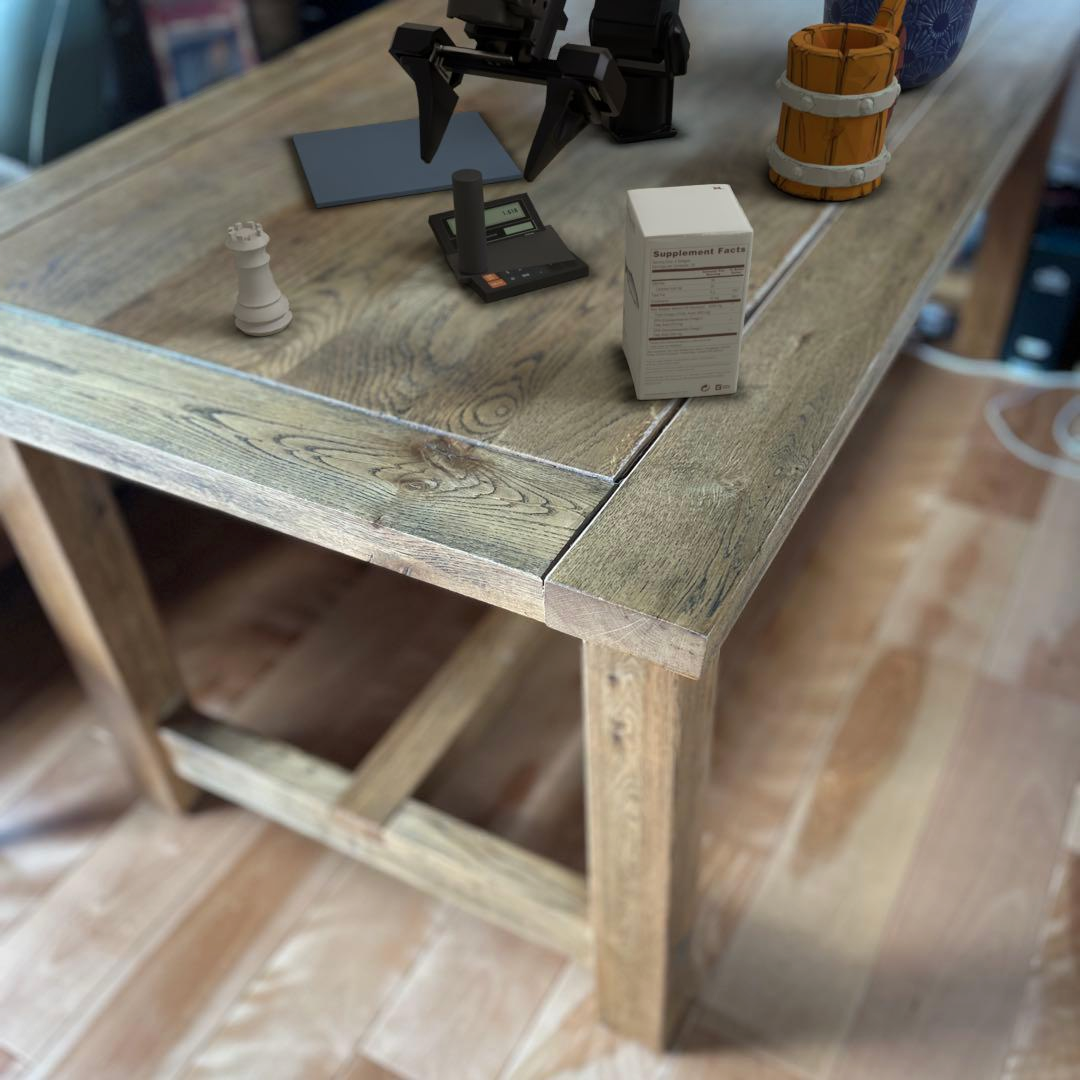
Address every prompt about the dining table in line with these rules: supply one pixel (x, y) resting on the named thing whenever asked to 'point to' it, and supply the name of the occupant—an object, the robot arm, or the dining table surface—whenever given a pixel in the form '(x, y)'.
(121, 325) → the dining table surface
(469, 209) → the peg stand
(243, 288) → the rook chess piece
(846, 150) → the mug
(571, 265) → the calculator
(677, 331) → the white packaging box
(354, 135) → the felt mat
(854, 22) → the planter
